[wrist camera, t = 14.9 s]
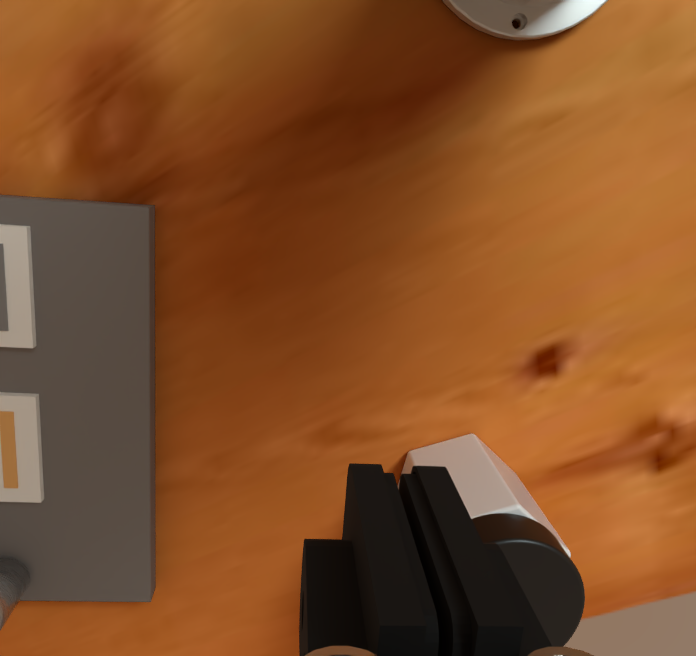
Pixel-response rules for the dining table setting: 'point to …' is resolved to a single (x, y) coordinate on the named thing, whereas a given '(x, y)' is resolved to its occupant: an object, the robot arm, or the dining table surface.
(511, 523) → the jar
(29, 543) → the label board
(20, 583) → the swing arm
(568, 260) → the dining table surface
